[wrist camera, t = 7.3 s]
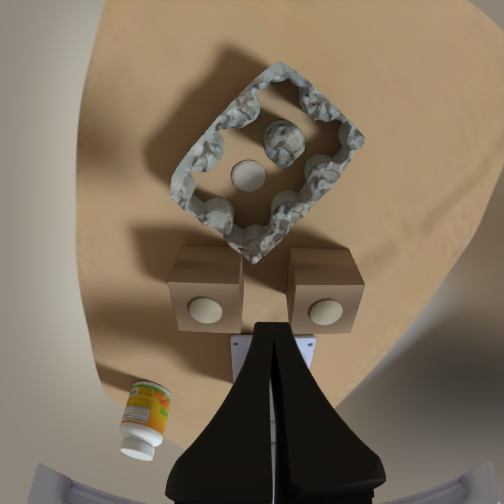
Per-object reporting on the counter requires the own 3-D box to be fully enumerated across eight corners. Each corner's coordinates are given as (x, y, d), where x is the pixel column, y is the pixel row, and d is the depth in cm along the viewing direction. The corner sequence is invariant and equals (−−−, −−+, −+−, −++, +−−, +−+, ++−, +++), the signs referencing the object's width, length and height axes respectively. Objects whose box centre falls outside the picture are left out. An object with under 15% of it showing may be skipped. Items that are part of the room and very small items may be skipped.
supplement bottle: (174, 403, 35) (162, 465, 27) (138, 397, 35) (122, 456, 27) (168, 383, 32) (152, 453, 24) (128, 376, 32) (107, 442, 24)
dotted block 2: (338, 293, 24) (350, 334, 20) (286, 293, 24) (290, 336, 20) (348, 248, 22) (365, 287, 18) (290, 246, 22) (296, 287, 18)
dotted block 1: (243, 292, 24) (240, 335, 20) (190, 291, 24) (178, 332, 20) (242, 245, 22) (238, 286, 18) (183, 245, 22) (166, 283, 18)
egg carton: (252, 241, 22) (249, 274, 18) (170, 177, 19) (150, 200, 16) (361, 139, 17) (384, 155, 14) (278, 57, 15) (282, 50, 11)
